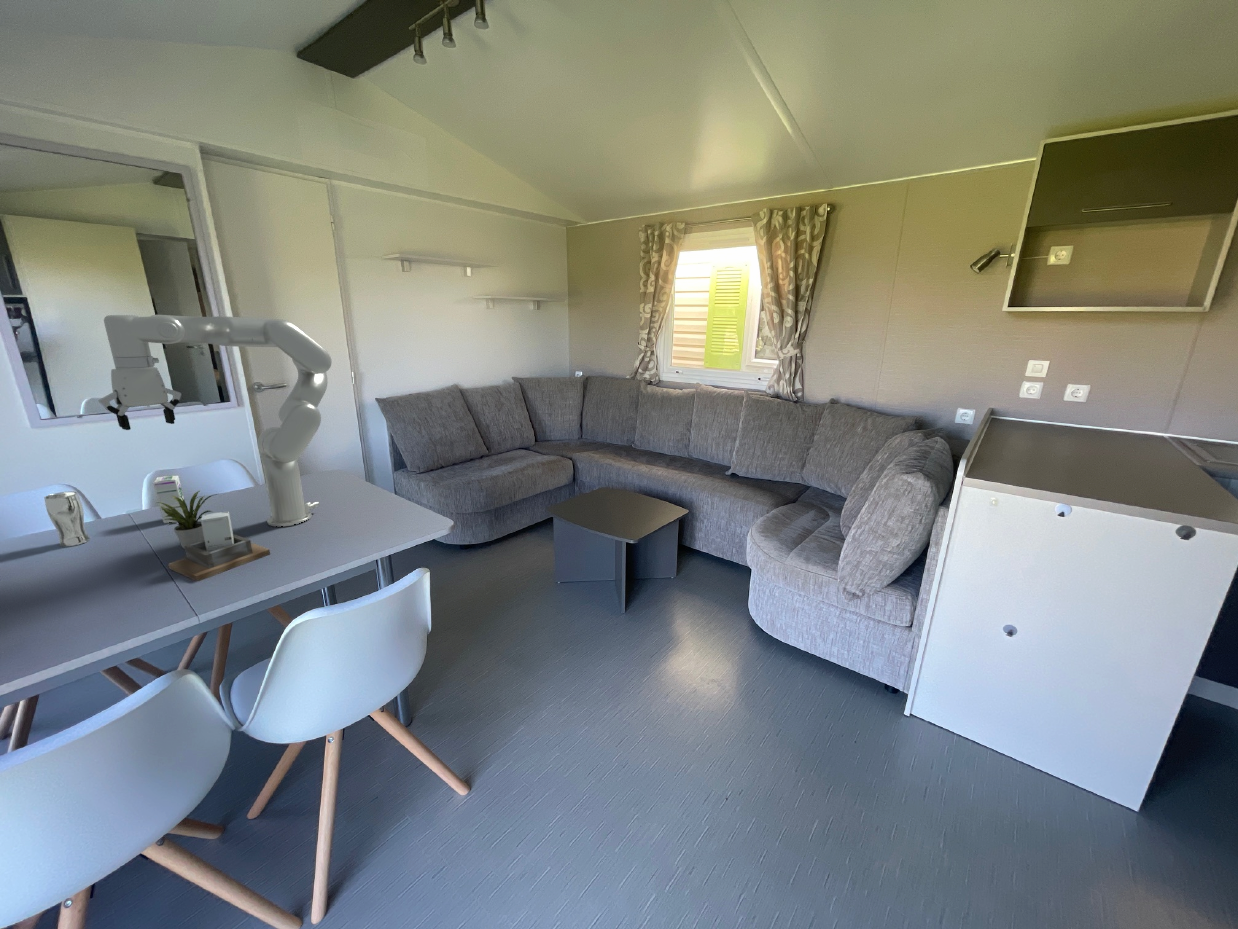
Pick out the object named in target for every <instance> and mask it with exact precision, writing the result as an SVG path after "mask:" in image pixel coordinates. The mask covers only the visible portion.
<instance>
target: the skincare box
mask: <svg viewBox="0 0 1238 929" xmlns="http://www.w3.org/2000/svg"><path fill="white" fill-rule="evenodd" d="M200 521H201V524H202V530H203V535H204V540H205V545H206V551H207V552H212V551H215V550H218V549H221V548H224V547H226V546H229V545H232V544H234V538H233V534H234V532H233V526H232V521H231V515H230V511H221V512H211V513H204V514H203V515H202V518H201V519H200Z"/></svg>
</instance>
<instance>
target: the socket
mask: <svg viewBox="0 0 1238 929" xmlns="http://www.w3.org/2000/svg"><path fill="white" fill-rule="evenodd" d="M233 538H234V544H232V545H229V546H226V547H224V548H221V549H218V550H215V551H212V552H207V551H206V545H205V540H203V541H200V542H197V543H193V544H190V545H187V546H184V547H185V549H184V552H185V556H186V557H184V558H182V559H178V560H175V561H173V562H169V563H168V567H169V569H170V570H172V571H174V572H176V573H178V574H180V575H183V576H184V577H186V578H189V579H192V580H194V581H196V582H200V581H202V580H205V579H208V578H210V577H213V576H216V575H219V574H222V573H224V572H226V571H229V570H232V569H234V568H238V567H240V566H242V565H243V566H244V565H246V564H248V563H251V562H253V561H255V560H256V561H257V560H258V559H261V558H263V557H266V556H269V555H271V550H270V548H267V547H264V546H261V545H259V544H256V543H253V542H252V541H251V539H248V538H245V537H243V536H240V535H238V534H235V533H233ZM268 554H269V555H268Z"/></svg>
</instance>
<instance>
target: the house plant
mask: <svg viewBox="0 0 1238 929" xmlns="http://www.w3.org/2000/svg"><path fill="white" fill-rule="evenodd" d="M200 491H201V490H197V491H196V492H195V493H194V494H193V495H192V497H191V499H190V500H189V508H188V505H187V503H186V501H184V500H185V498H184V499H183V498H182V497H181V496H180V497H181V498H182V500H183V501H182V500H181V499H180V498H177V497H175V496H172V498H174V499H176V500H177V501H178V502H179V504H180V506H181V508H182V510H183V513H184V516H185V517H184V516H183V515H181V514H180V513H179V512H178V511H177V510H176V509H175V508H173V507H172V506H170V505H167V504H164V503H161V502H158V501H157V502H156V503H160V504H163V505H165V506H167V507H168V508H170V509H171V510H170V509H166V508H165V507H161V509H163V510H164V512H165V513H166V514H168V515H167V516H165V517H172V518H168V519H164V520H173V521H177V522H172V523H168V526H171V525H176V526H175V527H174V528H173V530H174V533H175V535H176V536H177V538H178V541H179V543H180V545H181V547H182V548H183V550H185V547H184V546H187V545H190V544H193V543H197V542H200V541H203V540H204V535H203V530H202V524H201V518H202V515H205V514H208V513H210V512H211V513H213V511H212V510H205V511H203V512H201V514H199V516H198V517H197V515H198V512H199V510H200V509H201V507H202V505H203V504H205V502H206V501H207V500H208V499H209V498H211V497H213V496H217V495H218V493H215V494H212V495H209V496H207V497H206V496H205V495H203V496H200V497H199V496H198V495H199V493H200ZM205 497H206V498H205ZM198 498H199V500H198V501H197V503H196V505H195V507H194V504H195V501H196V499H198ZM204 498H205V499H204ZM163 518H164V517H163Z"/></svg>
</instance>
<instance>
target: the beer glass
mask: <svg viewBox="0 0 1238 929" xmlns="http://www.w3.org/2000/svg"><path fill="white" fill-rule="evenodd" d="M43 498H44V503H45V505H44V506H45V508H46V512H47V514H48V518H49V519H50V521H51V523H52V525H53V526H54V527H55V529H56V531H57V532H58V537H59V546H60V547H64V548H67V547H68V548H69V547H76V546H81V545H83V544H86V543H88V542H89V541H90V539H91V538H90V536H89V535H88V534H87V531H86V528H85V518H84V516H85V515H84V514H85V513H84V507H83V504H82V501H81V499H80V496H79V493H78V491H61V492H56V493H52V494H48V495H46V496H44V497H43Z"/></svg>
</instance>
